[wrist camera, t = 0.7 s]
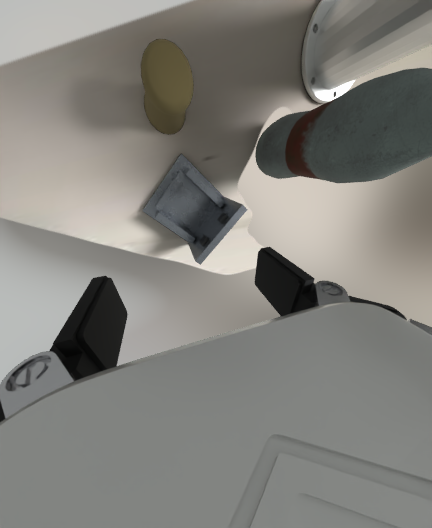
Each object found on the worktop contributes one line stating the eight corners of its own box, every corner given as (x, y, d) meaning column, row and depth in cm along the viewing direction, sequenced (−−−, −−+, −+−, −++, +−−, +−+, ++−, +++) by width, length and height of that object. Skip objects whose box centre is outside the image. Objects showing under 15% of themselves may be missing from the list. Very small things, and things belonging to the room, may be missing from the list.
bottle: (269, 107, 28) (1096, -353, 3) (301, 138, 32) (774, 36, 7) (244, 164, 31) (560, 145, 7) (276, 185, 35) (543, 223, 11)
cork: (136, 112, 23) (122, 76, 14) (155, 66, 22) (153, -6, 13) (173, 144, 26) (180, 131, 17) (192, 106, 25) (211, 71, 16)
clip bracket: (180, 154, 27) (189, 147, 19) (227, 201, 34) (248, 211, 26) (142, 209, 30) (136, 225, 22) (192, 243, 36) (202, 265, 28)
